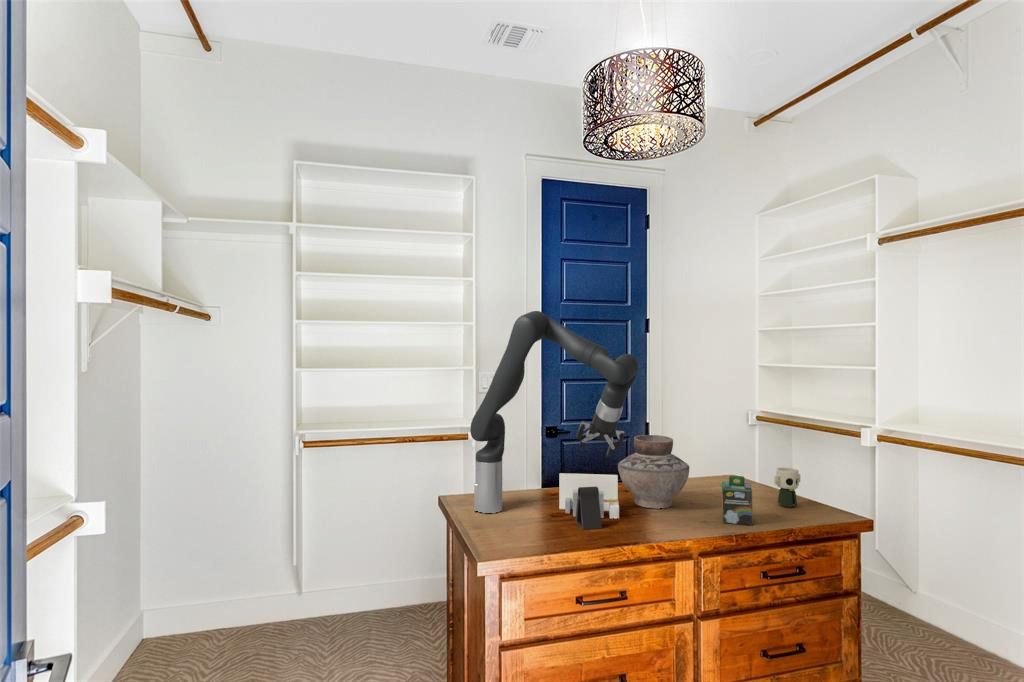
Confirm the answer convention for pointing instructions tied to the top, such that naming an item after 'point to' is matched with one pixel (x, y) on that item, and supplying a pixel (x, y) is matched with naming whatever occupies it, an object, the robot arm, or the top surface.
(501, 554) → the top surface
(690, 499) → the top surface
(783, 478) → the character mug
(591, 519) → the phone stand
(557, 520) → the top surface
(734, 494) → the chalk box
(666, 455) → the ceramic pot
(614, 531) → the top surface
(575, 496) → the block and dowel assembly
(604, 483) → the panel and block assembly
